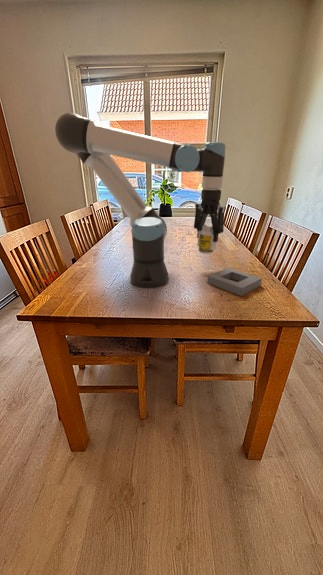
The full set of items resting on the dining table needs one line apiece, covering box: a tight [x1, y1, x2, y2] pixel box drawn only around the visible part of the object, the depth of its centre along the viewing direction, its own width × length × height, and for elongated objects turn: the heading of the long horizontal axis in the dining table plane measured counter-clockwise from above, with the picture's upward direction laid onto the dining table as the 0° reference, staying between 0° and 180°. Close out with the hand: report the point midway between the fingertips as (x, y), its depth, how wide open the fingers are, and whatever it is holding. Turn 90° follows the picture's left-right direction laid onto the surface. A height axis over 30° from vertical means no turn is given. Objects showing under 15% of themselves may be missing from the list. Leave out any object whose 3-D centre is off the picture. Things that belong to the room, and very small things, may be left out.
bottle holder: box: [206, 267, 263, 297], centre depth 94 cm, size 13×15×3 cm
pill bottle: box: [198, 224, 214, 255], centre depth 104 cm, size 6×6×11 cm
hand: (206, 247), depth 105 cm, fingers closed on pill bottle, 6 cm apart
